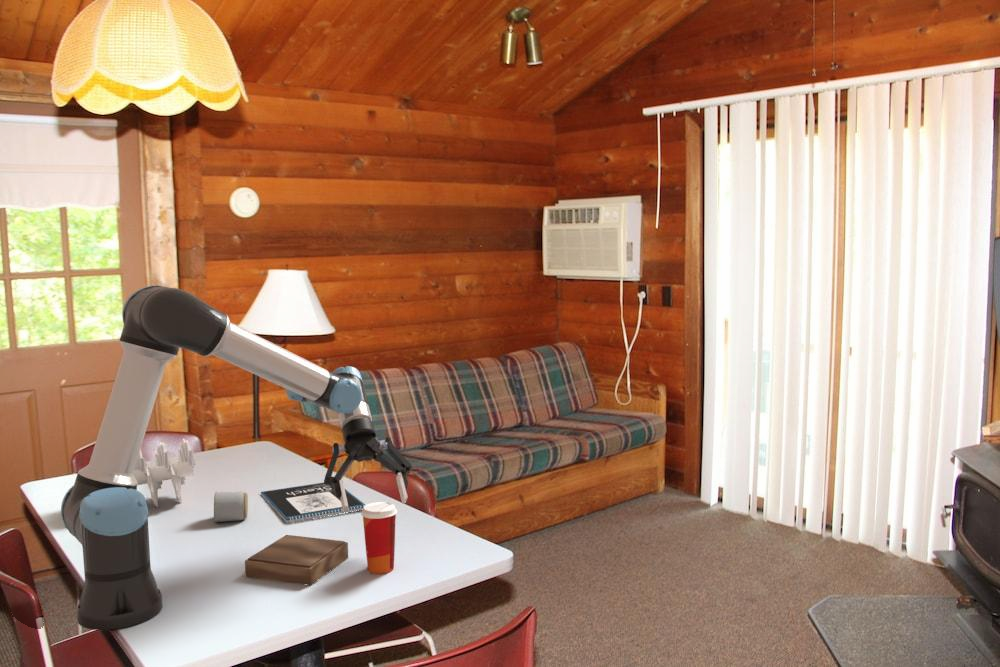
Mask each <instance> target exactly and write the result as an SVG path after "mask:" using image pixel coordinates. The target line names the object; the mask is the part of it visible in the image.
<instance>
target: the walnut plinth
mask: <svg viewBox="0 0 1000 667" xmlns="http://www.w3.org/2000/svg"><path fill="white" fill-rule="evenodd" d="M348 558H349V543H348V541H345V540H336V539H328V538H318V537H309V536H301V535H292V534H291V535H290V534H286V535H284V536H282V537H280V538H279V539H277V540H275V541H274V542H272V543H271V544H269V545H267V546H266V547H264V548H263V549H261V550H260V551H259V550H258V551H257V552H255V554H253V555H251V556H250V557H248V558H247V559H245V560H244V572H245V573H244V574H245V578H251V579H259V580H266V581H274V582H280V583H281V582H283V583H288V584H296V583H297V584H298V585H304V584H307V585H306V586H311V585H312V584H313V583H314V584H316V583H317V582H318V581H319V580H318V579H320V578H321V577H322V576H323V575H325V574H326V573H327V572H329V571H330V570H331V571H333V570H334V569H336V568H337V567H338V566H340V565H341V564H342V563H343V562H345V561H346V560H348ZM336 566H337V567H336ZM333 568H334V569H333ZM332 569H333V570H332ZM331 571H330V572H331ZM330 572H329V573H330ZM327 574H328V573H327ZM327 574H326V575H327ZM326 575H325V576H326ZM322 578H323V577H322ZM322 578H321V579H322ZM321 579H320V580H321ZM317 580H318V581H317ZM316 581H317V582H316ZM315 582H316V583H315ZM314 584H313V585H314ZM313 585H312V586H313Z"/></svg>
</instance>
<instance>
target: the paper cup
mask: <svg viewBox="0 0 1000 667" xmlns="http://www.w3.org/2000/svg"><path fill="white" fill-rule="evenodd" d="M397 513H398V509H396V506H395V504H392V503H390V502H386V501H378V502H371V503H370V502H369V503H367V504H365V506H364V507H363V511H361V512H360V515H361V516H362V522H363V531H364V542H365V543H364V544H365V555H366V564H367V572H369V573H370V574H373V575H384V574H388V573H390V572H392V571H394V568H395V567H394V566H395V550H396V549H395V545H396V517H397V515H396V514H397Z"/></svg>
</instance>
